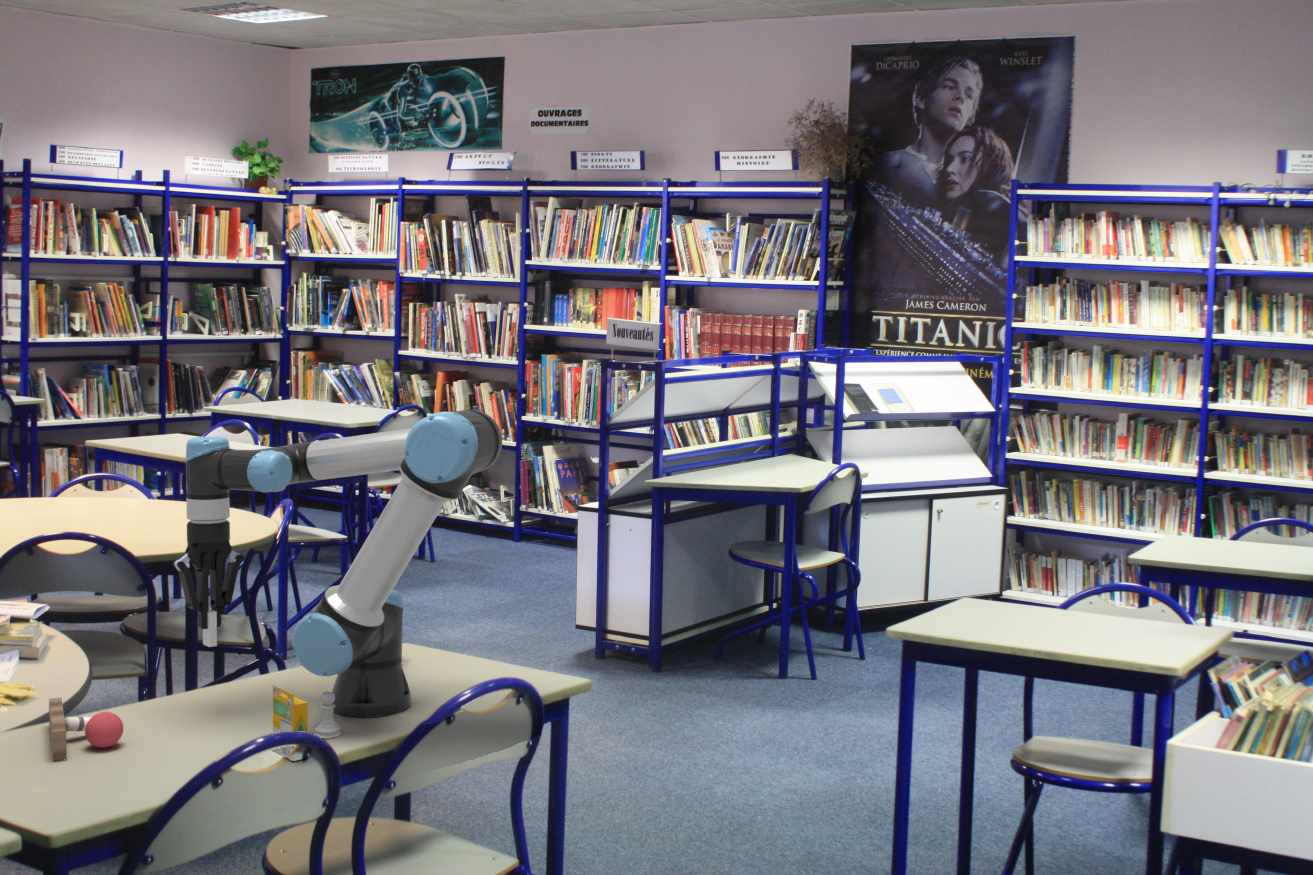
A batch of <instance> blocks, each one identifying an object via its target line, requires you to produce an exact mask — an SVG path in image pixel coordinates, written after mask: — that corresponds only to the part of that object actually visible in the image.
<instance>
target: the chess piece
mask: <svg viewBox="0 0 1313 875" xmlns="http://www.w3.org/2000/svg"><path fill="white" fill-rule="evenodd" d="M320 701H321V703H322V704H320V706H319V708H321V709H322V710H321V711H322V712H321V713H322V719H321V721H320V723H319V725H317V726H316V727H315V729H314V730H315V732H314V733H315V734H317V735H319V736H321V737H323V738H324V739H323V740H332V739H337V738H338V737H340V736H341V734H342V731H341V730H340V729H341V726H339V725H338V724H337V722H336V721H335V718H334V711H333V709H334V707H335V706H336V705H335V704H332V703H333V702H334V701H335V695H334V693H332V691H324V692H322V693H321V695H320Z"/></svg>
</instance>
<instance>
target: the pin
mask: <svg viewBox="0 0 1313 875" xmlns="http://www.w3.org/2000/svg"><path fill="white" fill-rule="evenodd" d="M92 717H93V716H66V717H65V718H64V719H65V726H66V732H85V728H86V725H87V723H88V721H89V720H90V719H91V718H92Z"/></svg>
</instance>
